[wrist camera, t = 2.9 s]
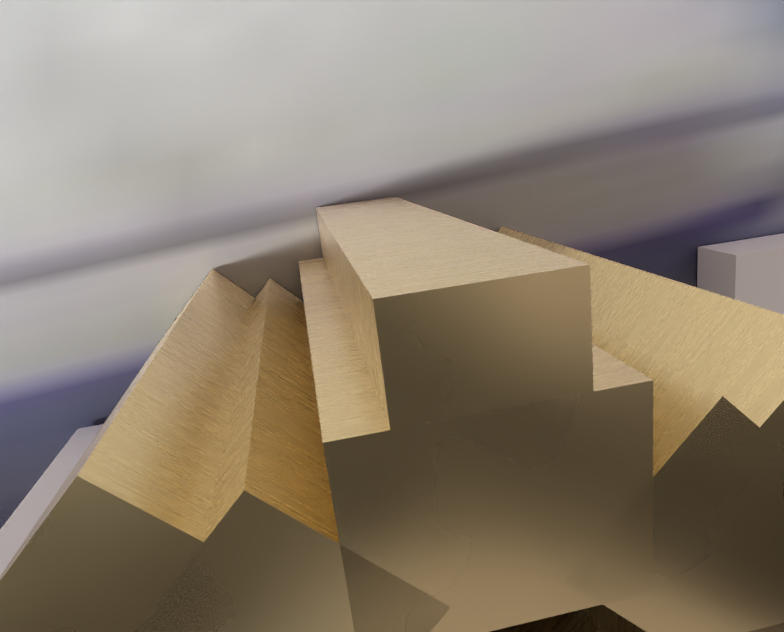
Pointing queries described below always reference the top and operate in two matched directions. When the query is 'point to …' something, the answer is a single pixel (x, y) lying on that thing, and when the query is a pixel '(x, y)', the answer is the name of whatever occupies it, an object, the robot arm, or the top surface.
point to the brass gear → (430, 452)
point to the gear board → (745, 271)
